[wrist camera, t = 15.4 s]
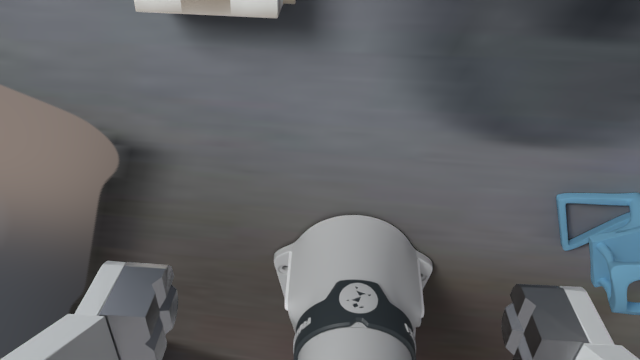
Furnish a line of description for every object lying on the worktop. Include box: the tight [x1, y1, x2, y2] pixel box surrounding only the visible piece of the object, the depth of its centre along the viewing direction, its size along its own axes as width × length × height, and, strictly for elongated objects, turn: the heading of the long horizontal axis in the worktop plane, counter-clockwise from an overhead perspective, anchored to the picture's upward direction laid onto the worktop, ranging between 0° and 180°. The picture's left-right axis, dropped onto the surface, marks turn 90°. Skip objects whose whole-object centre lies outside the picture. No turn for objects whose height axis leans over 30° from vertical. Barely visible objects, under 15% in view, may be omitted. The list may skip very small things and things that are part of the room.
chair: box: [556, 193, 640, 315], centre depth 49 cm, size 8×8×12 cm
